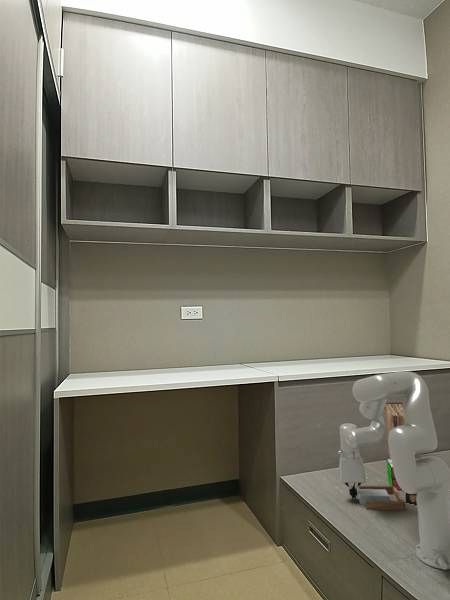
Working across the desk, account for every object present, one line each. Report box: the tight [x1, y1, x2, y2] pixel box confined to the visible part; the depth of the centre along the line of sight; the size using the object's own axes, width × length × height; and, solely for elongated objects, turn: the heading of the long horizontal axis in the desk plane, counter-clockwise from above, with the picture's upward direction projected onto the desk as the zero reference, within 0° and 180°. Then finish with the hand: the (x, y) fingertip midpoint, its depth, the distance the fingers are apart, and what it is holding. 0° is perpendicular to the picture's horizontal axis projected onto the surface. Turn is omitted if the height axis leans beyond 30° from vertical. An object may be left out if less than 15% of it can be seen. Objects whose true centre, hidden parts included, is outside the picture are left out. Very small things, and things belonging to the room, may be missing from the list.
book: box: [384, 402, 418, 459], centre depth 192 cm, size 25×9×30 cm, turn 165°
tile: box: [371, 489, 391, 501], centre depth 160 cm, size 6×6×4 cm
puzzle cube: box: [385, 458, 403, 491], centre depth 172 cm, size 10×10×10 cm
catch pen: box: [358, 485, 407, 511], centre depth 159 cm, size 15×15×3 cm
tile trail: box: [356, 488, 375, 505], centre depth 160 cm, size 6×6×4 cm
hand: (353, 497), depth 161 cm, fingers closed
